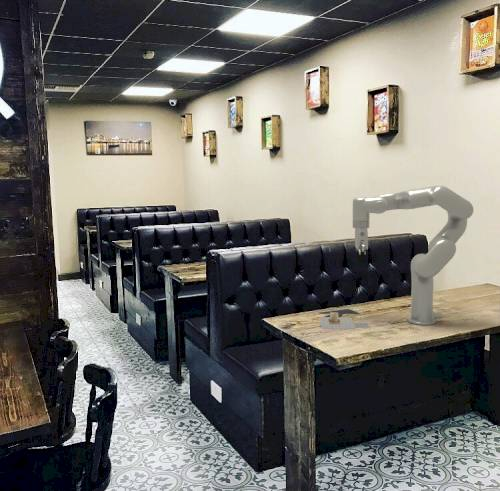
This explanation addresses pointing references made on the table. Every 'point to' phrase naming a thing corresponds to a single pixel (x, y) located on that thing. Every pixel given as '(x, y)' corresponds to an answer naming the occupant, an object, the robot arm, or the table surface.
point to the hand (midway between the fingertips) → (360, 261)
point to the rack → (340, 323)
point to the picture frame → (339, 312)
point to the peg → (333, 317)
